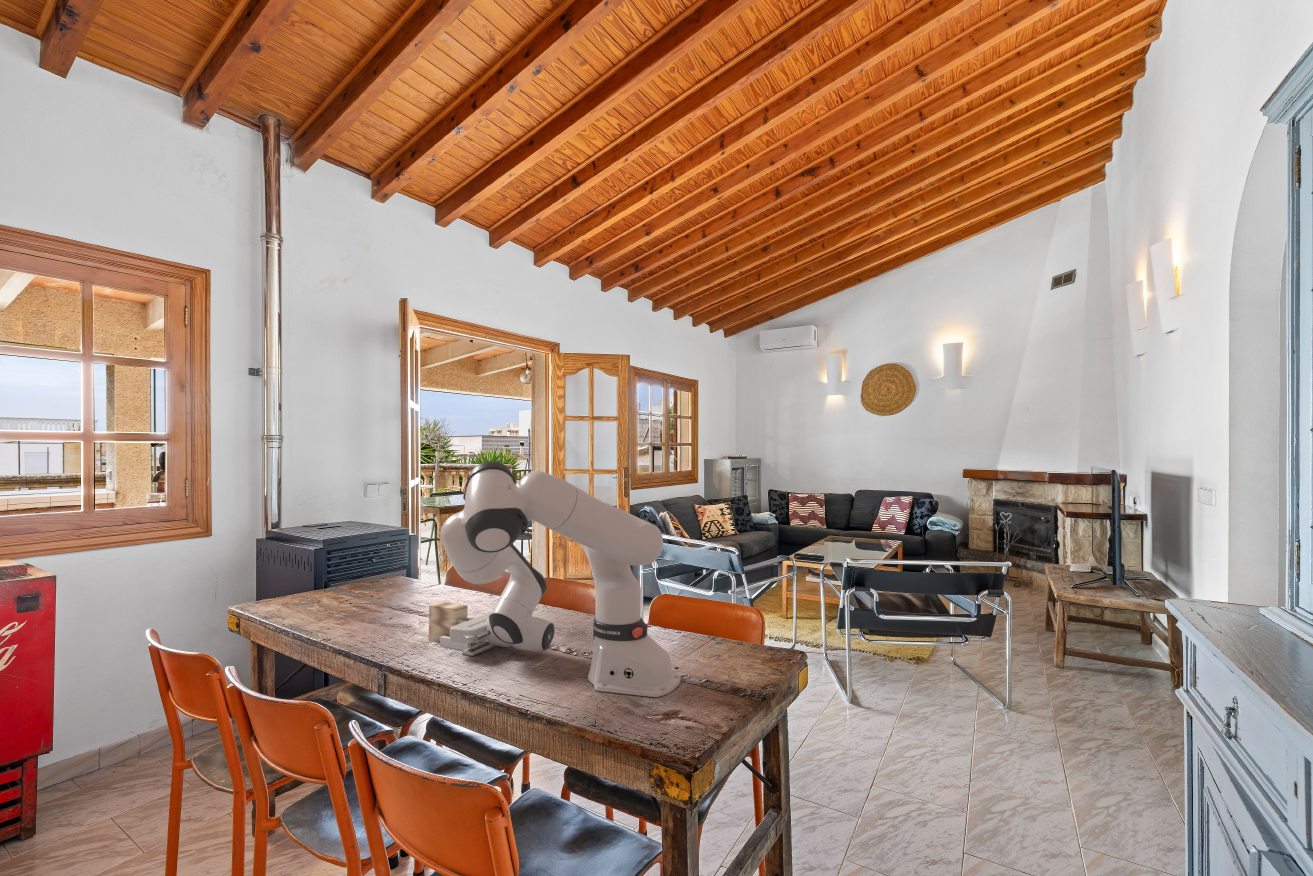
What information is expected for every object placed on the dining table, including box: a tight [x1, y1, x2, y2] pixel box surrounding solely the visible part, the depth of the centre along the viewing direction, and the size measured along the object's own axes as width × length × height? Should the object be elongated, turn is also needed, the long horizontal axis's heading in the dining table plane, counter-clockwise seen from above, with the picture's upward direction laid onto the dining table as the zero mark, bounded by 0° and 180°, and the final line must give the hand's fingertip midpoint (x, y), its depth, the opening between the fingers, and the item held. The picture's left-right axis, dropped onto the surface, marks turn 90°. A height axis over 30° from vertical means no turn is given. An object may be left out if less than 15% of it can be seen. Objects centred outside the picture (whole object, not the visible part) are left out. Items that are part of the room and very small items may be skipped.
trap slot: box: [461, 641, 498, 657], centre depth 163 cm, size 4×14×1 cm, turn 156°
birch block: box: [428, 601, 469, 643], centre depth 169 cm, size 10×4×10 cm, turn 66°
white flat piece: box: [439, 636, 487, 651], centre depth 166 cm, size 10×9×2 cm
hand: (461, 621), depth 167 cm, fingers closed, pressing on birch block
